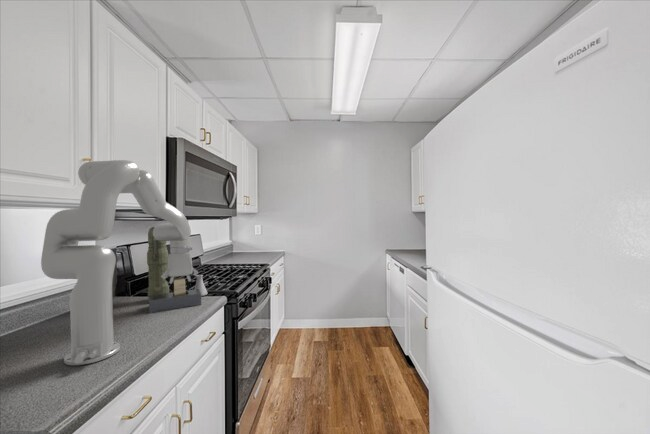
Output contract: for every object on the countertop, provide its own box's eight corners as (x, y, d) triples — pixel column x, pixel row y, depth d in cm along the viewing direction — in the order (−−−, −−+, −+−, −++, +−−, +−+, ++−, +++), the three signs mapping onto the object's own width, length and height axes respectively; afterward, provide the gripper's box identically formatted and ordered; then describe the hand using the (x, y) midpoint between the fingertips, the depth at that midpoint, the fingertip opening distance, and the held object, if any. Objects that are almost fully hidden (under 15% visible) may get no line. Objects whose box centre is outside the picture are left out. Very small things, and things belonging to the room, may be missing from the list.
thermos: (169, 295, 146) (168, 226, 146) (168, 301, 135) (166, 227, 135) (149, 298, 142) (147, 227, 142) (146, 304, 131) (144, 227, 131)
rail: (201, 304, 129) (201, 293, 129) (149, 312, 120) (148, 300, 120) (199, 299, 138) (198, 288, 138) (150, 306, 128) (150, 295, 128)
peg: (186, 305, 129) (185, 279, 129) (175, 307, 127) (173, 280, 126) (185, 303, 133) (184, 277, 133) (174, 305, 130) (173, 278, 130)
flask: (210, 293, 149) (209, 274, 149) (202, 297, 141) (202, 277, 141) (197, 293, 150) (196, 273, 149) (188, 297, 142) (188, 276, 142)
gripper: (199, 248, 137) (200, 286, 137) (157, 251, 129) (158, 291, 129) (201, 250, 130) (202, 290, 131) (157, 253, 122) (158, 295, 122)
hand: (180, 290), depth 130 cm, fingers open, 5 cm apart
